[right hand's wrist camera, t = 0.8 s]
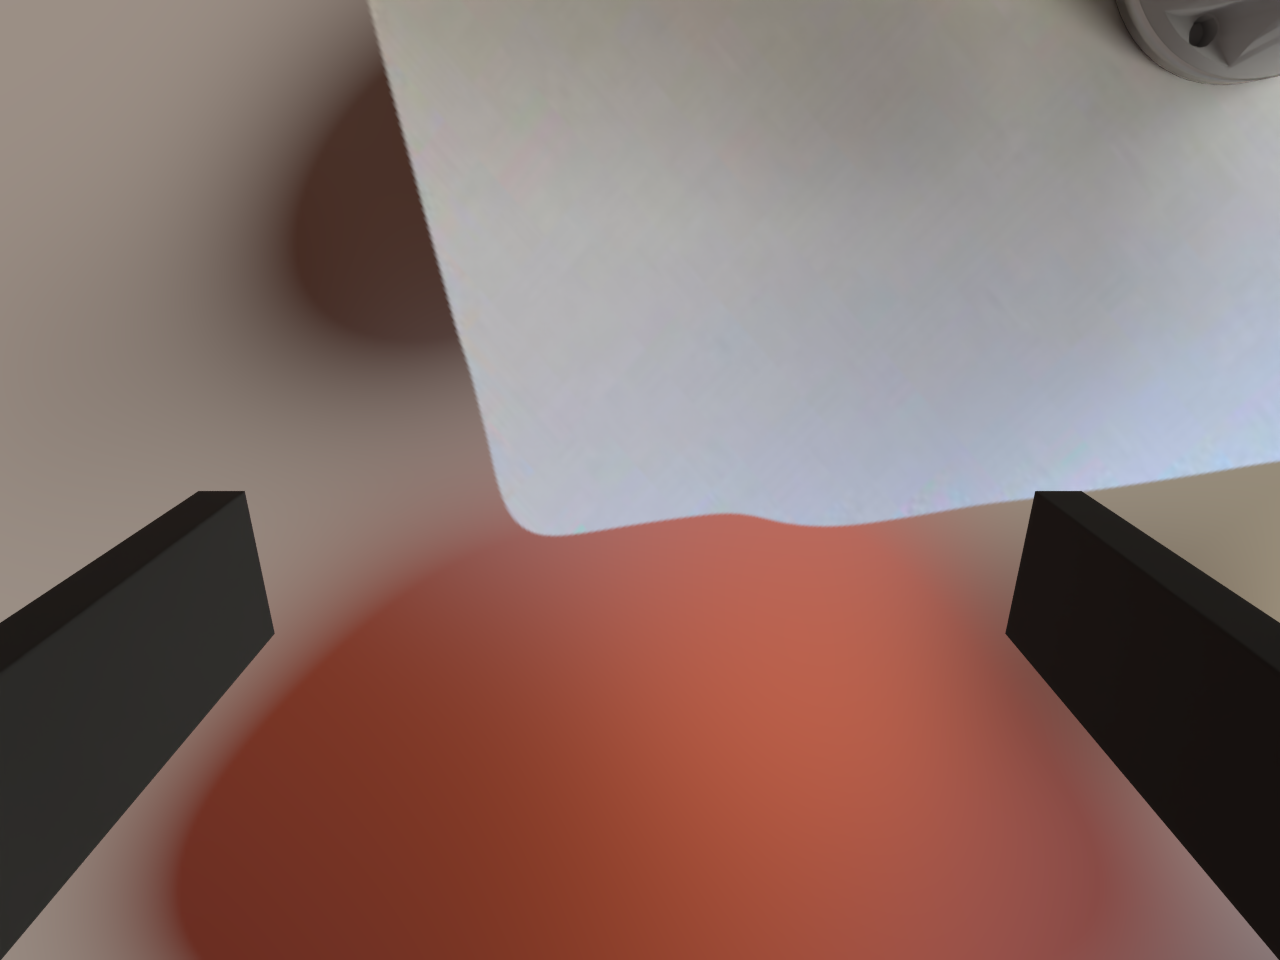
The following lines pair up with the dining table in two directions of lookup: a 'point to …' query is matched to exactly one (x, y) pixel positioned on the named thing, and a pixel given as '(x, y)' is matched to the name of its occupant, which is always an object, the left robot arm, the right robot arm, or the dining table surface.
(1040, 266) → the dining table surface
